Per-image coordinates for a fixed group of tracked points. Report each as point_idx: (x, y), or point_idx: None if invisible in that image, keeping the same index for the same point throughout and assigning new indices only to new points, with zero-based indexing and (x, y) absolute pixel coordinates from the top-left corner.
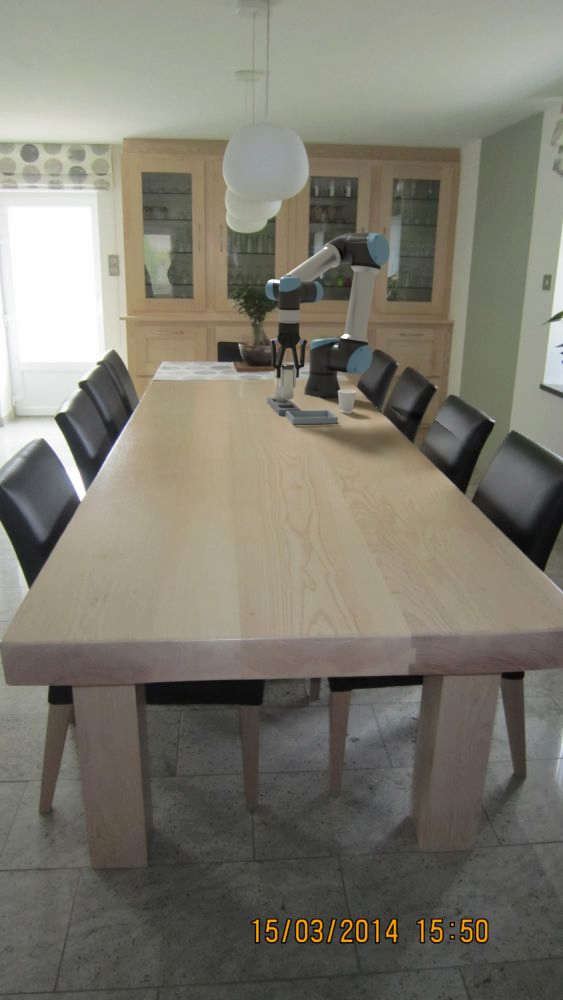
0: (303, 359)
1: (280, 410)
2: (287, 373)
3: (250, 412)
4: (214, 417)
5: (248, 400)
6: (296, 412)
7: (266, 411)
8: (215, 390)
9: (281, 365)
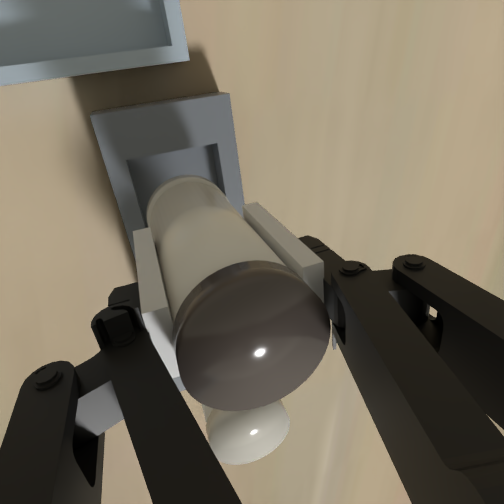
0: (16, 469)
1: (219, 95)
2: (241, 242)
3: (341, 180)
4: (496, 63)
5: (317, 379)
6: (115, 53)
7: (271, 209)
8: (387, 462)
9: (343, 291)
